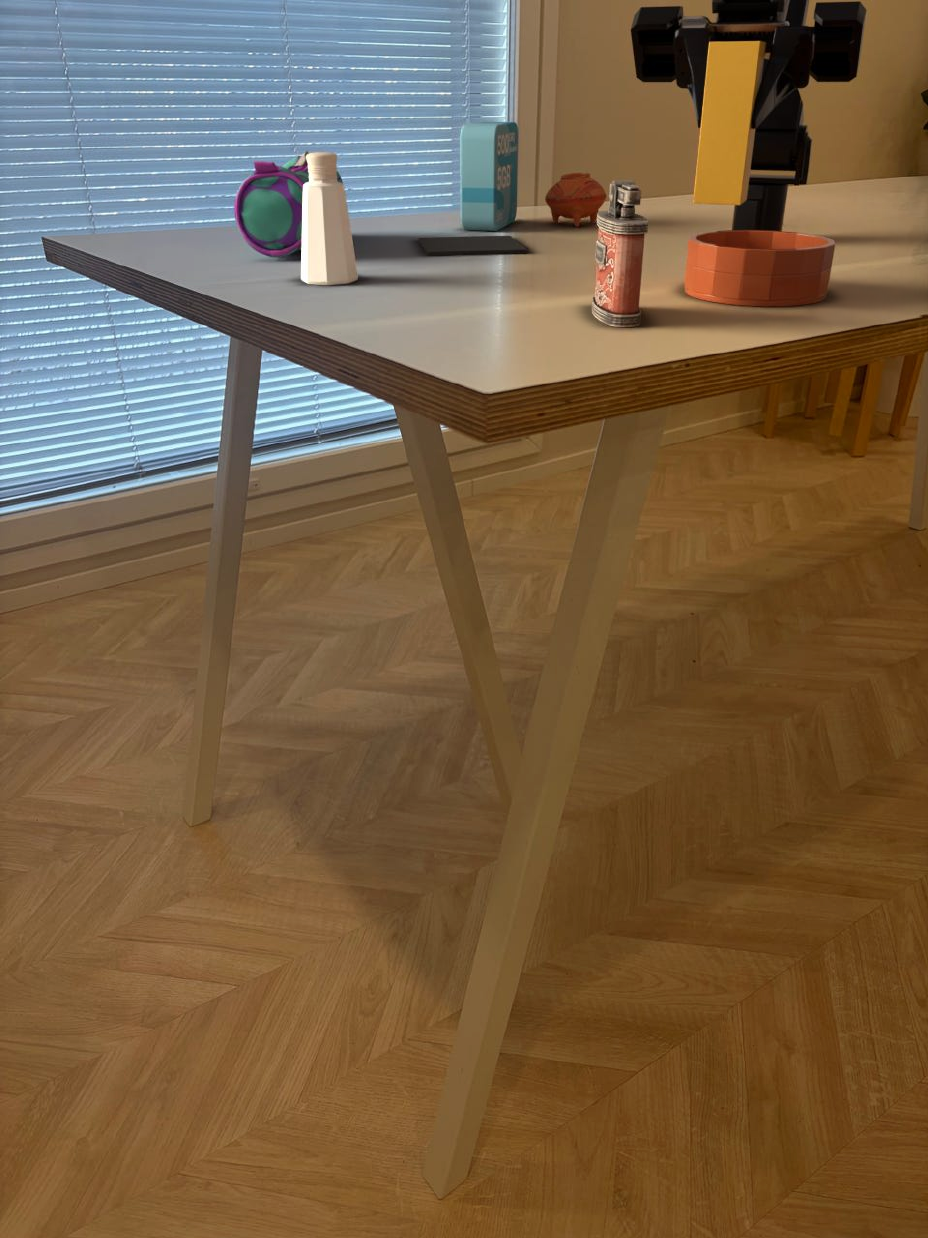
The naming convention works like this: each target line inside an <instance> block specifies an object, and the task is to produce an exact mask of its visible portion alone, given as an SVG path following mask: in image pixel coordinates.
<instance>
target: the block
mask: <svg viewBox="0 0 928 1238" xmlns="http://www.w3.org/2000/svg"><path fill="white" fill-rule="evenodd" d="M765 48H766V42H762V41H728V42H709V49H708V59H707V69H706V79H705V89H704V99H703V109H702V119H701V128H699V130H700V131H699V140H698V149H697V161H696V171H695V180H694V190H693V200H692V203H693V204H696V205H721V206H723V205H724V206H735V205H741V204H742V203H744V202H745V201H746V200H747V193H748V185H749V177H750V174H751V170H750V169H751V161H752V153H753V144H754V136H755V129H751V119H752V114H753V108H754V103H755V99H756V96H757V93H758V90H759V87H760V84H761V80H762V72H763V64H764V56H765Z"/></svg>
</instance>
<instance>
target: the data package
mask: <svg viewBox="0 0 928 1238" xmlns="http://www.w3.org/2000/svg"><path fill="white" fill-rule="evenodd" d="M459 137H460V138H459V152H460V153H459V158H460V161H459V168H460V169H459V170H460V172H459V173H460V175H459V177H460V182H459V183H460V185H459V186H460V224H461V228H462V229H463V230H464V231H488V232H490V231H491V232H498V231H499V230H501V229H503V228H505V227H506V226H508V225H510V224H512V223H514V222H515V221H516V219H517V214H518V213H517V212H518V173H519V172H518V171H519V170H518V169H519V168H518V167H519V127H518V124H517V122H516V121H479V122H473V123H466V124H463V125H462V127H461V130H460V135H459Z"/></svg>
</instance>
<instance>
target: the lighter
mask: <svg viewBox="0 0 928 1238" xmlns="http://www.w3.org/2000/svg"><path fill="white" fill-rule="evenodd" d="M608 195H609V196H608V197H609V203H608V210H601V211H598V212H597V218H596V226H598V234H597V235H598V237H597V240H596V242H595V255H594V259H595V262H596V269H595V271H596V272H595V285H594V287H595V288H594V296H592V298H591V313H592V315H593V316H594V318H595V319H597V320H599V321H600V322H602V323H603V324H606V325H608V326H611V327H618V328H631V327H637V326H640V325H641V319H642V316H641V315H642V311H641V308H640V299H641V298H640V296H641V285H642V273H643V259H644V248H645V237H646V236H645V235H646V234H647V233H648V232H649V231H648V230H649V220H648V218H647V217H645V216H643V215H641V214H638V213H636V206H641V199H642V190H641V189H640V187H639V186H638V185H636V182H635V180H634V179H631V180H630V179H626V180H625V179H623V180H621V179H615V180H614V179H613V180H612V181H611V183H609V194H608Z"/></svg>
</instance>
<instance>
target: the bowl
mask: <svg viewBox="0 0 928 1238" xmlns="http://www.w3.org/2000/svg"><path fill="white" fill-rule="evenodd" d="M835 249H836V242H835V239H831V238H828V237H826V236H822V235H817V234H812V233H805V232H796V231H786V230H785V231H783V230H782V231H769V230H732V229H728V230H727V229H725V230H724V229H723V230H713V231H704V232H703V231H702V232H699V233H698V232H697V233H696V234H691V235H690V236H689V238H688V244H687V252H686V253H687V254H686V264H685V265H686V266H685V274H684V283H683V284H684V285H683V286H684V292H685V294H687V295H688V296H690V297H693V298H695V299H698V300H703V301H707V302H713V303H717V304H725V305H733V306H745V307H746V306H747V307H793V306H802V305H810V304H816V303H818V302H822V301H823V300H825V298H826V297H827V293H828V290H829V284H830V279H831V273H832V267H833V260H834V255H835Z"/></svg>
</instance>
